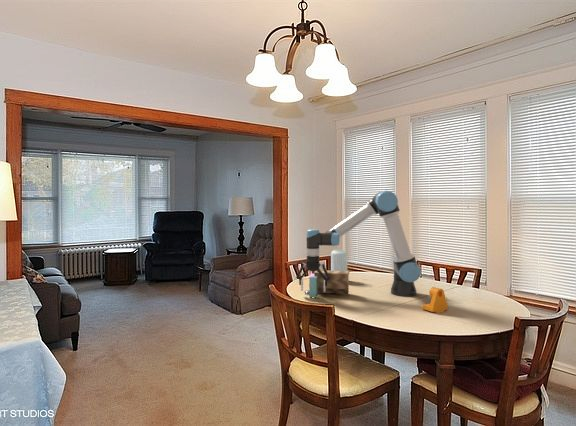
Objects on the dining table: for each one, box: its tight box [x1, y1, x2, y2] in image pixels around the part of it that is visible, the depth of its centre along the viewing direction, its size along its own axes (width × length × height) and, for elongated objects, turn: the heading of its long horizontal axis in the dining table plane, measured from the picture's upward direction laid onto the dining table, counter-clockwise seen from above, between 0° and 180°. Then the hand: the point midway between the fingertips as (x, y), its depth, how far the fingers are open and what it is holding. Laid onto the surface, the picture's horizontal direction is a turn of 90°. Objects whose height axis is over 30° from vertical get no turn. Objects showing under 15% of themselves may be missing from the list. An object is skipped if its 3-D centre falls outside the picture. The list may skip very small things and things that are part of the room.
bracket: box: [422, 286, 448, 314], centre depth 193 cm, size 11×7×12 cm, turn 117°
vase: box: [330, 249, 348, 271], centre depth 266 cm, size 12×12×22 cm
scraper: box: [308, 275, 318, 298], centre depth 225 cm, size 4×11×12 cm, turn 167°
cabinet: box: [313, 269, 350, 295], centre depth 228 cm, size 21×8×14 cm, turn 77°
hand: (313, 290), depth 222 cm, fingers open, 13 cm apart
